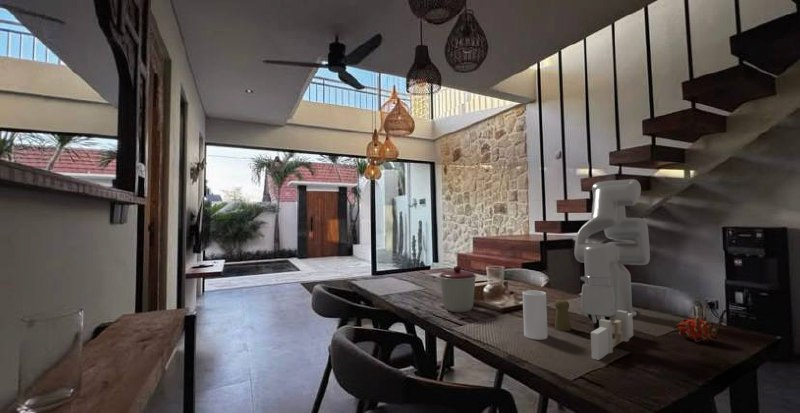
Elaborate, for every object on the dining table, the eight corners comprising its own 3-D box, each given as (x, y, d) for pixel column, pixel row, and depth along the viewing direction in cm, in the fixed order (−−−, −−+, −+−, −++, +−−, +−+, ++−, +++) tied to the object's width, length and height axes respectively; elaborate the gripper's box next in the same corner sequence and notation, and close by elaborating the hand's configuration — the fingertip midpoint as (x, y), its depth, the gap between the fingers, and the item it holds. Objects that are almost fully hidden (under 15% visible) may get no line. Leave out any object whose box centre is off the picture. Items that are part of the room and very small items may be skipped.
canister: (450, 303, 177) (449, 262, 178) (483, 307, 167) (482, 264, 167) (432, 311, 163) (431, 267, 163) (468, 317, 152) (466, 270, 152)
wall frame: (625, 333, 127) (624, 306, 127) (634, 335, 124) (633, 308, 124) (590, 357, 107) (588, 325, 107) (600, 360, 105) (599, 327, 105)
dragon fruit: (724, 350, 114) (678, 347, 121) (718, 329, 119) (675, 327, 127) (720, 333, 110) (673, 331, 118) (714, 312, 116) (670, 312, 124)
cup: (529, 330, 133) (528, 289, 134) (551, 335, 127) (549, 292, 128) (520, 336, 127) (518, 292, 128) (542, 341, 122) (540, 296, 122)
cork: (573, 331, 131) (572, 302, 131) (556, 330, 132) (555, 301, 132) (568, 326, 137) (567, 298, 137) (552, 325, 138) (551, 298, 138)
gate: (619, 338, 121) (618, 318, 121) (626, 340, 119) (625, 320, 119) (605, 347, 113) (604, 326, 113) (613, 349, 111) (612, 328, 111)
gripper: (571, 281, 120) (573, 333, 120) (622, 285, 112) (624, 341, 111) (575, 277, 126) (577, 327, 126) (623, 281, 118) (625, 335, 117)
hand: (599, 334), depth 119 cm, fingers closed
